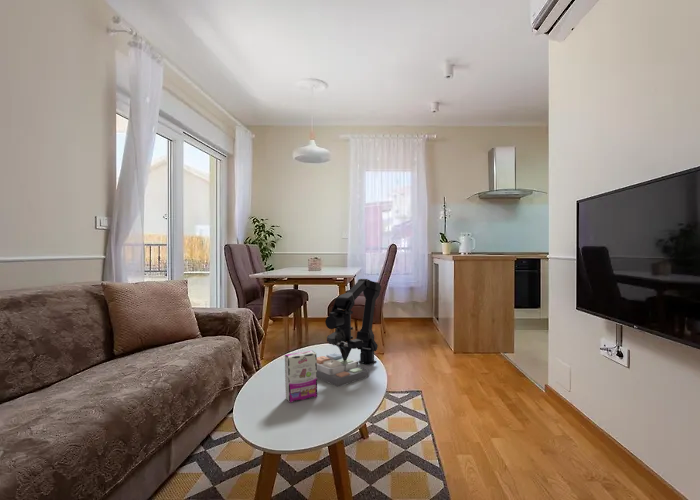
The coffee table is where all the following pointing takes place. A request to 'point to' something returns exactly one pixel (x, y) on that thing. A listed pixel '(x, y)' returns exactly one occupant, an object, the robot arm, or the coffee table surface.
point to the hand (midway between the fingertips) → (344, 360)
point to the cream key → (332, 363)
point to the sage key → (345, 361)
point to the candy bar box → (301, 376)
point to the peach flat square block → (322, 359)
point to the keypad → (341, 373)
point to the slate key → (334, 356)
